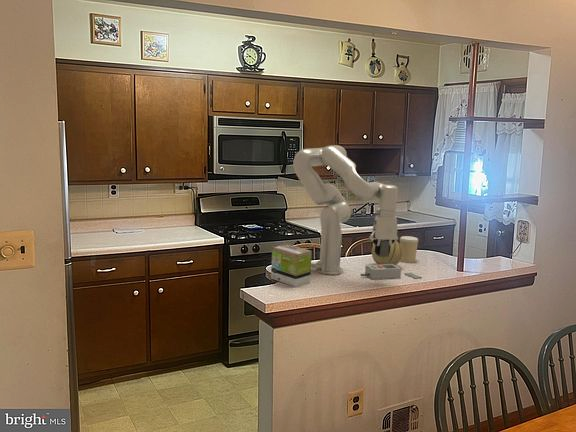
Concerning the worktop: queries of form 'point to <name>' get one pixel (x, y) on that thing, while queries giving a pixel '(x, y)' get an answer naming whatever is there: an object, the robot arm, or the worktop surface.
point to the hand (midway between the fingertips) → (382, 253)
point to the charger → (384, 248)
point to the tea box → (291, 265)
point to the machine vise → (382, 271)
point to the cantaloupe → (393, 255)
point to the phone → (412, 275)
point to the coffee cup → (408, 248)
